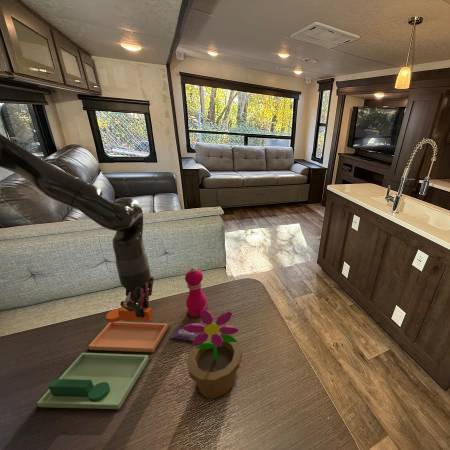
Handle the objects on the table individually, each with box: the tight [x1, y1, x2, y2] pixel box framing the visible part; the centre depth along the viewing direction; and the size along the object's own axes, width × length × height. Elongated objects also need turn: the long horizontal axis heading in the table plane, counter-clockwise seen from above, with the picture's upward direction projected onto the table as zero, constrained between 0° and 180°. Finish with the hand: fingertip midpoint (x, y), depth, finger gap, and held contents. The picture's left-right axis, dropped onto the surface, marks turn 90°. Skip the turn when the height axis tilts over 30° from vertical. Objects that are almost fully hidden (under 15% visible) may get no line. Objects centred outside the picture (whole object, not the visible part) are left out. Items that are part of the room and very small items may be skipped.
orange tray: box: [87, 321, 169, 353], centre depth 81 cm, size 19×10×2 cm, turn 92°
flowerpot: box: [183, 308, 243, 399], centre depth 66 cm, size 14×14×30 cm
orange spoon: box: [105, 306, 154, 323], centre depth 77 cm, size 13×4×4 cm, turn 92°
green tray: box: [36, 352, 150, 410], centre depth 68 cm, size 19×14×2 cm
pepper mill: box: [184, 266, 207, 318], centre depth 92 cm, size 7×7×20 cm
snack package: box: [170, 326, 205, 342], centre depth 84 cm, size 12×2×5 cm
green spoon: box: [48, 378, 110, 402], centre depth 64 cm, size 13×4×4 cm, turn 92°
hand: (143, 313), depth 77 cm, fingers closed on orange spoon, 2 cm apart
